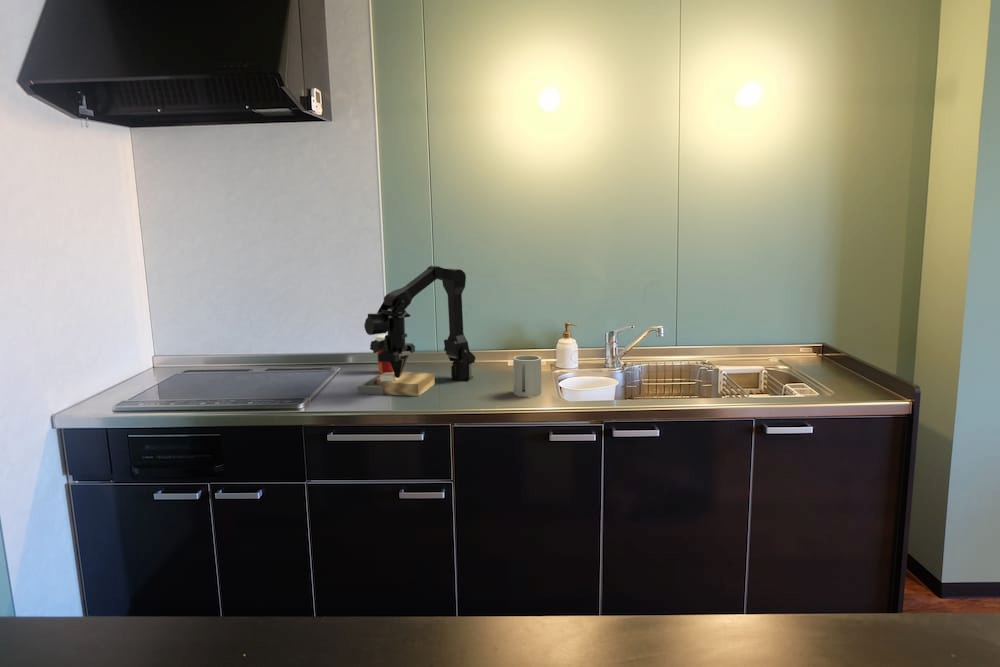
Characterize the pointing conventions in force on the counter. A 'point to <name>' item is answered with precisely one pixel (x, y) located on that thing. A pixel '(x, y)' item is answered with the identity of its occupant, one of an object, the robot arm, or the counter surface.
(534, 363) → the cup
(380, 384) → the terracotta tile
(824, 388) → the counter surface
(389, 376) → the off-white tile
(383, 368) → the paper cup
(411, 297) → the robot arm
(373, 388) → the box
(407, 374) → the wooden flat block
